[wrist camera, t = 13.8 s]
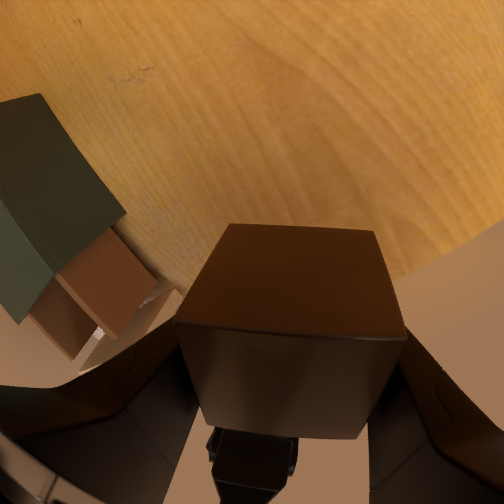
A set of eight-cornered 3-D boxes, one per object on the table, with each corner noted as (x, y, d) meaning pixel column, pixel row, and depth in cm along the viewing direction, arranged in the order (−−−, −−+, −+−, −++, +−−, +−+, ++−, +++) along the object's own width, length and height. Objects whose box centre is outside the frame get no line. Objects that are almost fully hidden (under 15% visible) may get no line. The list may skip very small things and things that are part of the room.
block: (374, 229, 8) (409, 337, 5) (352, 335, 10) (356, 440, 7) (229, 222, 9) (170, 319, 5) (238, 327, 11) (206, 425, 8)
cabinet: (126, 212, 23) (54, 274, 15) (69, 273, 28) (18, 325, 20) (39, 93, 18) (-42, 115, 10) (1, 177, 23) (-57, 211, 16)
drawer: (215, 330, 26) (189, 396, 20) (145, 357, 31) (118, 406, 25) (81, 175, 20) (16, 212, 14) (39, 240, 25) (-7, 278, 19)
